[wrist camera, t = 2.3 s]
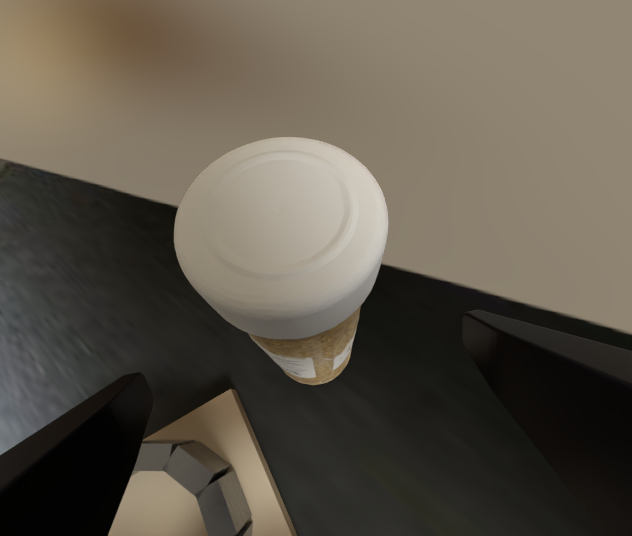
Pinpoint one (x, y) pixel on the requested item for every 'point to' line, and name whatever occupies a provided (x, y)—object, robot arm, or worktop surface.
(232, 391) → the carrier plate
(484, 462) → the worktop surface
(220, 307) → the sprinkles bottle
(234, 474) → the socket ring
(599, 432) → the robot arm
